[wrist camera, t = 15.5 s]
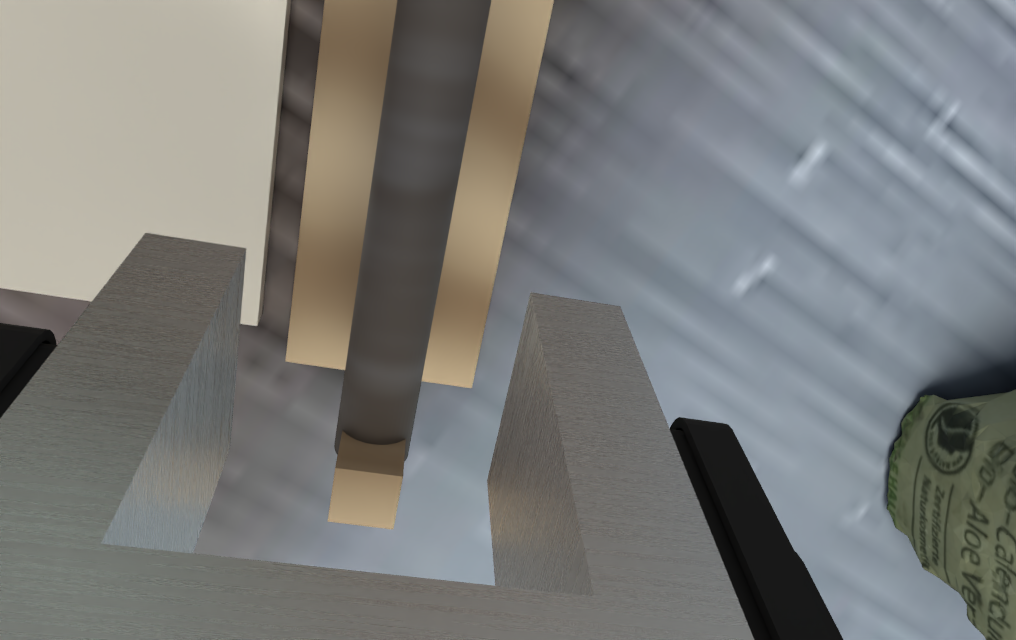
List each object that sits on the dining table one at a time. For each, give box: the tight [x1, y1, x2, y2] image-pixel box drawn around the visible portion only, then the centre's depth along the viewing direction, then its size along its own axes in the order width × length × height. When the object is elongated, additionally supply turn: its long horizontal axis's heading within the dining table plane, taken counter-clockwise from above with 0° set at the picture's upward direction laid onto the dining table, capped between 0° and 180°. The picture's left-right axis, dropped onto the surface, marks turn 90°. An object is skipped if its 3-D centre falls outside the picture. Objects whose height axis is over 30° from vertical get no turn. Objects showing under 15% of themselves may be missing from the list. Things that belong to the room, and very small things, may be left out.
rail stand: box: [286, 0, 554, 529], centre depth 22 cm, size 18×6×10 cm, turn 169°
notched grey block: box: [0, 233, 754, 640], centre depth 9 cm, size 6×3×8 cm, turn 79°
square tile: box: [0, 0, 291, 326], centre depth 26 cm, size 10×10×1 cm
